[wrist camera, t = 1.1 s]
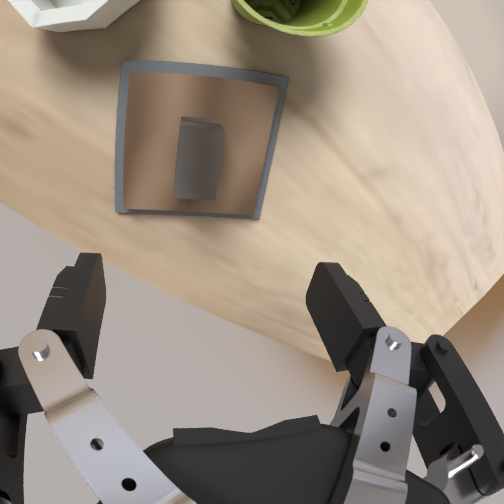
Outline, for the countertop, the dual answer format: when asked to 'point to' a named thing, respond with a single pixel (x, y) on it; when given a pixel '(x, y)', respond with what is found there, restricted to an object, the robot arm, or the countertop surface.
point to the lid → (195, 142)
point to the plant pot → (302, 15)
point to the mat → (202, 71)
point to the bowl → (71, 13)
